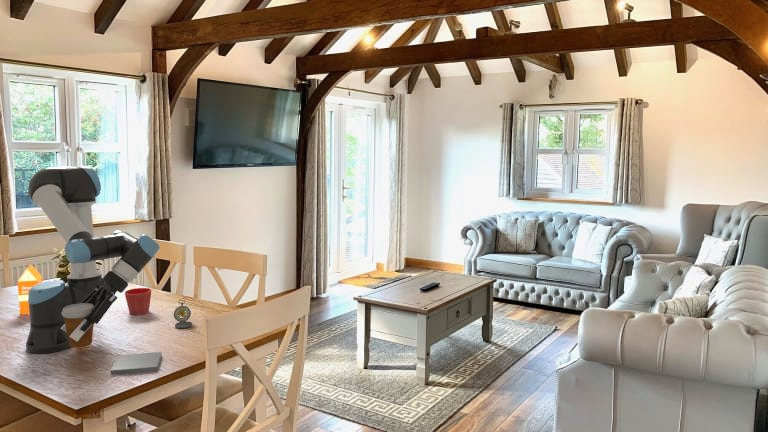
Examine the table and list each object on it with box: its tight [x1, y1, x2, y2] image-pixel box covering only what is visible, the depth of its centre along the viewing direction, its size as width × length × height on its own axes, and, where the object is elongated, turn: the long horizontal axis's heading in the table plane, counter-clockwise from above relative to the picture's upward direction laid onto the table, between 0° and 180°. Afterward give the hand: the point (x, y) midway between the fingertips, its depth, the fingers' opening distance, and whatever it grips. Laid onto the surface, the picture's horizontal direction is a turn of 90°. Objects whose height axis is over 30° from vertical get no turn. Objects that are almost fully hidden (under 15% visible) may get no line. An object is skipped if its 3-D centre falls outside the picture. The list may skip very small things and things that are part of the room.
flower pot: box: [124, 287, 152, 316], centre depth 261 cm, size 11×11×10 cm
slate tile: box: [110, 351, 162, 376], centre depth 202 cm, size 14×14×2 cm
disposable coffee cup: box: [62, 303, 94, 349], centre depth 189 cm, size 10×10×12 cm
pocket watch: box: [173, 299, 193, 329], centre depth 244 cm, size 8×8×10 cm
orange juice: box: [17, 264, 43, 315], centre depth 261 cm, size 8×9×20 cm
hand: (68, 334), depth 187 cm, fingers closed on disposable coffee cup, 8 cm apart
